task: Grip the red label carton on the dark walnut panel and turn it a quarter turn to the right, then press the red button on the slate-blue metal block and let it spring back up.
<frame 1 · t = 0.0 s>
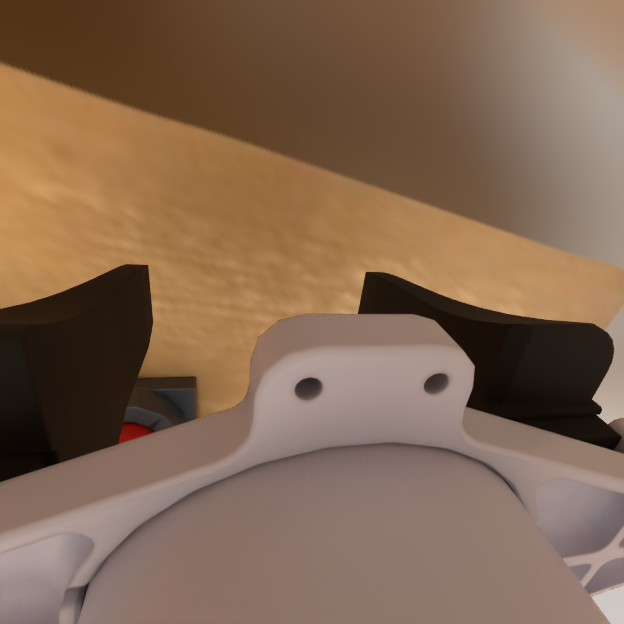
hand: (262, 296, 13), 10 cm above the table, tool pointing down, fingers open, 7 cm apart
button: (124, 454, 23), point 4 cm above the table, slide at 0.1 cm
button block: (138, 429, 27), on the table
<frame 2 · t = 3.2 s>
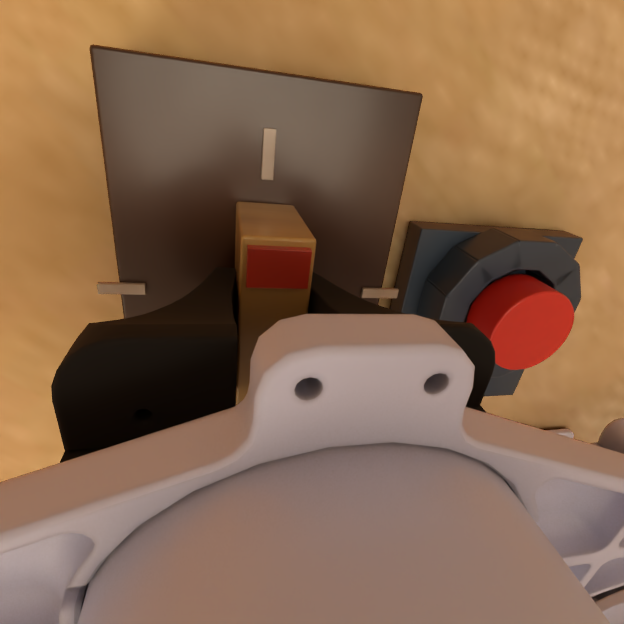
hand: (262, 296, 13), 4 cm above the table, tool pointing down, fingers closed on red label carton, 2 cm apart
button: (518, 322, 16), point 4 cm above the table, slide at 0.1 cm
button block: (461, 313, 20), on the table
red label carton: (265, 316, 12), point 5 cm above the table, hinge at -0.1°, touching gripper
dial panel: (254, 259, 16), on the table
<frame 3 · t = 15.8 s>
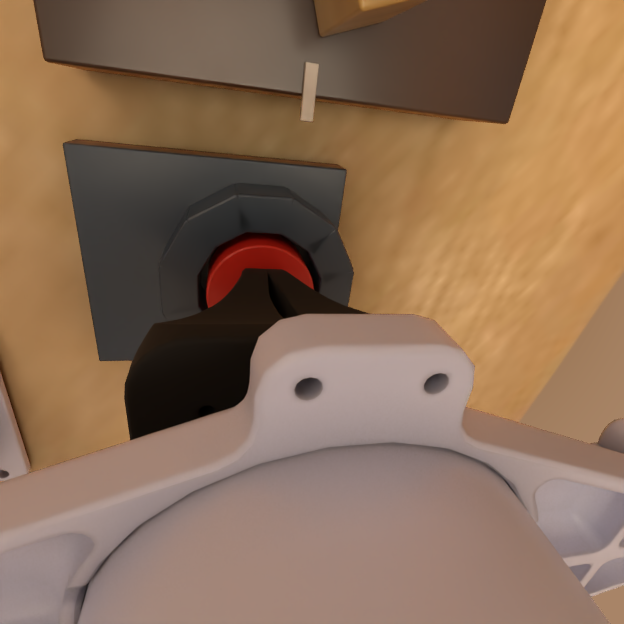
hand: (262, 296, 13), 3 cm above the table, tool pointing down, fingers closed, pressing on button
button: (259, 286, 14), point 2 cm above the table, slide at -0.9 cm, touching gripper
button block: (216, 259, 15), on the table
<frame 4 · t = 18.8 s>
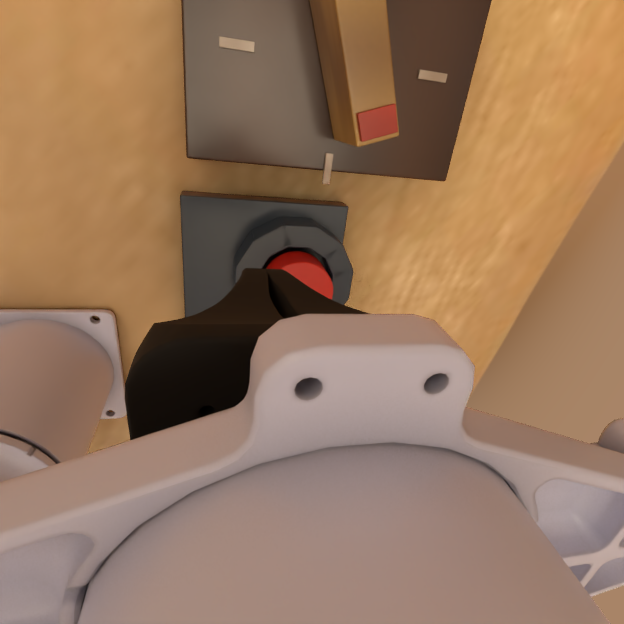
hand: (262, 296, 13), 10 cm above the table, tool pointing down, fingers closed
button: (297, 287, 21), point 4 cm above the table, slide at 0.1 cm
button block: (262, 263, 23), on the table
red label carton: (353, 57, 15), point 5 cm above the table, hinge at -70.7°
dial panel: (323, 67, 19), on the table
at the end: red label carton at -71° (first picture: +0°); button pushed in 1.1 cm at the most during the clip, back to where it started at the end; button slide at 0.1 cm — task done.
